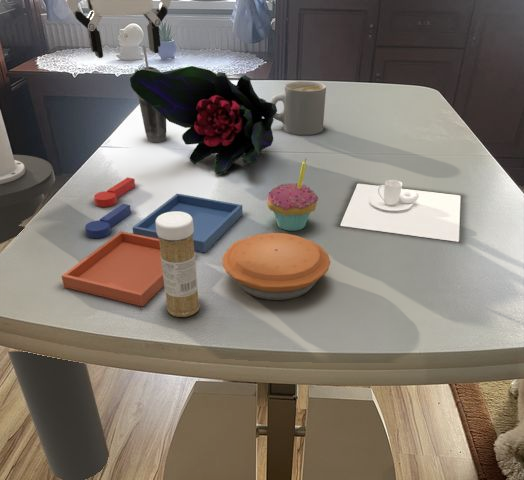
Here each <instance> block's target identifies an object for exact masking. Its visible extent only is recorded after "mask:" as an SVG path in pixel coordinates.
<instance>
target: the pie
mask: <svg viewBox="0 0 524 480" xmlns="http://www.w3.org/2000/svg"><path fill="white" fill-rule="evenodd" d="M330 265H331V258H330V255H329V254H328V253H327V251H326V250H324V248H323V247H321V246H320V245H318V244H317V243H316V242H314V241H312V240H309V239H307V238H304V237H301V236H299V235H297V234H291V233H285V232H283V233H282V232H267V233H259V234H254V235H251V236H248V237H245V238H242V239H240V240H236V241H234V242H233V244H231V245H230V246H229V248H227V250H225V253H224V254H223V255H222V267H223V268H224V270H225V272H226V273H227V274H228V275H229V276H230V277H231V278H232V279H234V281H235V282H236V284H237V285H238V286H239V287H240V288H241V289H242V290H243V292H246V293H247V294H248V295H251V296H253V297H255V298H257V299H263V300H268V301H284V300H292V299H295V298H298V297H301V296H302V295H305V294H306V293H308V292H309V291H310V290H311V289H312V288H313V287H314V286H315V284H316V283H317V282H318V281H319V280H320V279H321V277H323V276H324V275H325V274H327V272H329V269H330Z"/></svg>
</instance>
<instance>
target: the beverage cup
mask: <svg viewBox="0 0 524 480" xmlns="http://www.w3.org/2000/svg"><path fill="white" fill-rule="evenodd" d="M142 51H143V55H144V61H145V67H143V68H141V69H142V70H149V71H157V72H161V71H160V70H159V69H158V68H156V67H153V66H149V62H148V56H147V49H146V45H142ZM136 96H137V98H138V103H139V108H140V113H141V118H142V122H143V127H144V133H145V136H146V140H147V142H150V143H162V142H164V141H166V140H167V119H166V118H165V117H164V116H163V115H162V114H161V113H160V112H159V111H158V110H156V109H155V108H154V107H153V106H152V105H150V104H149V103H148V102H146V101H145V100H143V99H142V98H141V97H140V96H139V95H138V94H137V93H136Z"/></svg>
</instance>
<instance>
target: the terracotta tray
mask: <svg viewBox="0 0 524 480" xmlns="http://www.w3.org/2000/svg"><path fill="white" fill-rule="evenodd" d="M61 280H62V285H63V287H64V288H66V289H70V290H74V291H78V292H82V293H86V294H90V295H95V296H98V297H102V298H107V299H109V300H114V301H119V302H123V303H128V304H130V305H134V306H138V307H144V306H146V304H147V303H148V302H150V300H151V299H153V297H154V296H155V295H157V294H158V292H160V291H161V290H162V289H163V288H164V279H163V271H162V263H161V252H160V243H159V239H156V238H151V237H146V236H142V235H137V234H133V232H127V231H123V230H120V231H119V232H118V233H116V234H115V235H114V236H112V237H111V238H110V239H108V240H107V241H106V242H104V243H103V244H102V245H100V246H99V247H97V248H96V249H95V250H94V251H92V252H91V253H90V254H88V255H87V256H86V257H84V258H83V259H82V260H81V261H79V262H78V263H76V264H75V265H73V267H71V268H69V269H68V270H67V271H66V272H64V273H63V274H62V275H61Z"/></svg>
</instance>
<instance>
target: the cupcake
mask: <svg viewBox="0 0 524 480" xmlns="http://www.w3.org/2000/svg"><path fill="white" fill-rule="evenodd" d="M307 159H308V158H307V157H305V159H304V161H302V163H301V169H300V172H299V177H298V180H297V181H298V182H295V183H282V184H279V185H277V186H275V187H274V188H272V189H271V190H270V191H268V195H267V198H266V203H267V209H269V211H272V212H273V215H274V217H275V219H276V223H277V226H278V227H279V228H280V229H281V230H284V231H290V232H296V231H300V230H303V229H304V228H305V227H306V225H307V221H308V219H309V216H310V215H311V213H312V212H314V211H315V210H316V209H317V205H318V201H319V197H318V196H317V194H316V193H315V192H314V190H313V189H311V188H310V187H309V186H307V185H305V184H303V182H304V176H305V171H306V168H307Z"/></svg>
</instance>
